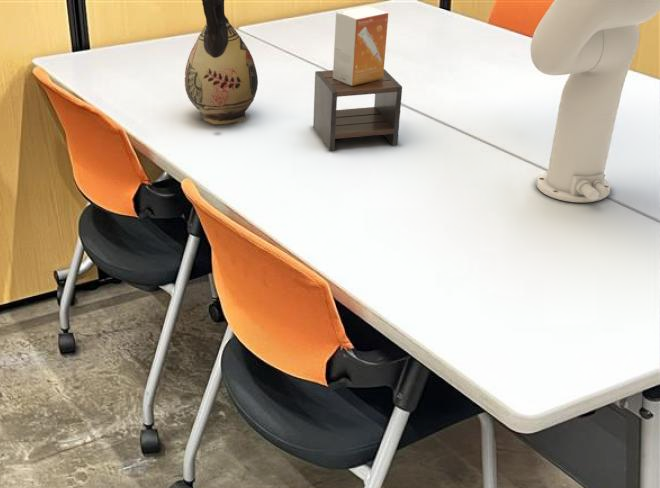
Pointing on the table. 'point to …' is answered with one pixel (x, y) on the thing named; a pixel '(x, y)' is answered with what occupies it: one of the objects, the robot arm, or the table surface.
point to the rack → (356, 109)
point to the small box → (360, 45)
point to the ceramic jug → (220, 70)
